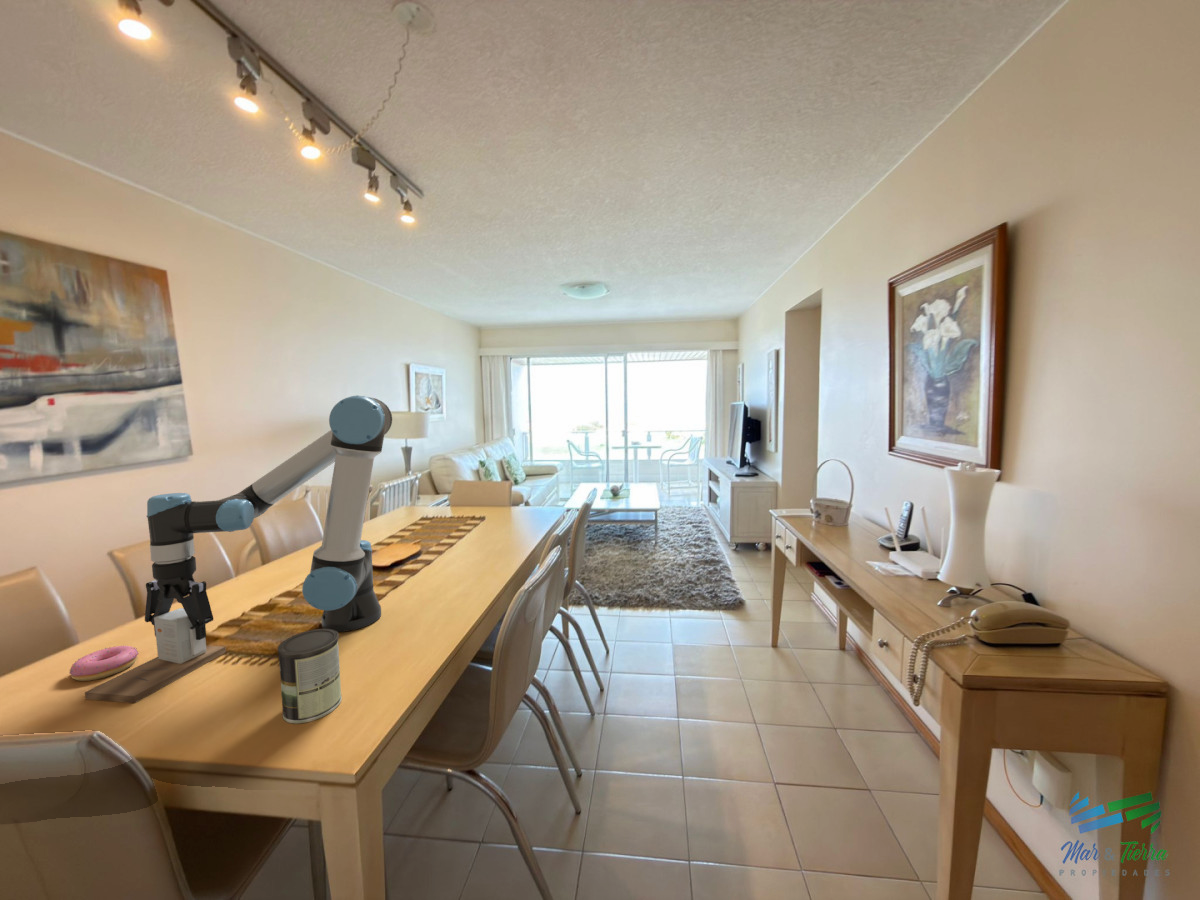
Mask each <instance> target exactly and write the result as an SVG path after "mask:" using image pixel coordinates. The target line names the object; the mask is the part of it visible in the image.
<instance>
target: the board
mask: <svg viewBox="0 0 1200 900" xmlns="http://www.w3.org/2000/svg"><path fill="white" fill-rule="evenodd" d="M206 651H207V652H205V653H203V654H201V655H199V656H197V657H195V658H192V659H190V660H188V661H186V662H184V663H182V664H179V663H174V662H170V661H165V660H161V659H158V656H156V657H154V658H152V659H150V660H148V661H145V662H144V663H141V664H139V665H138V666H136V667H134V668H132V669H129V670H127V671H125V672H123V673H121V674H120V675H117V676H115V677H113V678H111V679H109V680H107V681H104V682H103V683H101V684H99V685H96V686H95V687H92V688H91V689H88V690H86V691H85V692H84V698H85V700H92V701H94V700H95V701H106V702H118V703H128V704H135V703H137V702H139V701H141V700H143V699H145V698H147V697H148V696H151V694H153V693H156V692H157V691H159V690H161V689H163V688H165V687H166V686H168V685H170V684H172V683H174V682H175V681H177V680H179V679H181V678H183V677H184V676H186V675H188V674H189V673H191V672H193V671H195V670H197V669H198V668H200V667H202V666H204V665H206V664H208V663H209V662H211V661H213V660H214V659H216V658H218V657H220V656H223V655H224V654H225V653H227V648H226V646H222V645H221V646H219V645H207V644H206Z"/></svg>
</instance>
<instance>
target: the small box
mask: <svg viewBox="0 0 1200 900" xmlns="http://www.w3.org/2000/svg"><path fill="white" fill-rule="evenodd" d="M197 621H198V620H197ZM154 622H155V631H154V633H155V632H156V637H155V638H156V640H155V641H156V649H157V651H158V652H157V657H158V659H161V660H165V661H170V662H174V663H179V664H182V663H184V662H186V661H188V660H190V659H192V658H195V657H197V656H199V655H201V654H203V653H205V652H207V651H206V649H205V650H203V651H201V652H199V653H197V654H195V655H192V652H191V641H190V629H189V628H190V627H192V624H191V622H190V620H189V618H188V616H187V614H186V612H185V610H184V608H183V607H180V608H176V609H174V610H170V611H169V612H168V613H165V614H162V615H159V616H157V617H154ZM206 641H207V640H206V639H205V645H207V642H206Z"/></svg>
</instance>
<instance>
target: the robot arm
mask: <svg viewBox="0 0 1200 900" xmlns="http://www.w3.org/2000/svg"><path fill="white" fill-rule="evenodd" d="M328 422H329V427H330V430H329V431H328V432H326V433H324V434H323V435H321V436H320V437H319V438H317V439H315V440H314V441H313V442H311V443H310V444H308V445H306V447H304V448H302V449H301V450H299V451H298V452H296V453H295V454H294V455H292V456H291V457H290V458H287V459H286V460H285V461H284V462H282V463H281V464H279V465H277V466H276V467H274V468H272V470H270V471H268V472H267V473H266V474H264V475H263V476H261V477H260V478H258V479H257V480H255V481H254V482H253V483H251V484H250V485H248V486H247V487H245V488H244V489H242V490H241V491H239V492H238V493H236V494H233V495H230V496H228V497H224V498H221V499H219V500H218V499H217V500H206V501H204V500H202V501H195V500H194V501H192V497H191V494H189V493H187V492H172V493H164V494H162V493H161V494H157V495H153V496H151V497H149V498H148V499H147V503H146V505H147V506H146V507H147V508H146V510H147V511H146V513H147V515H146V518H147V523H148V532H149V533H148V534H149V542H150V544H149V548H150V549H149V550H150V561H151V562H153V563H152V564H151V568H152V569H151V570H152V571H151V572H152V578H153V579H154V580H151V581H149V582H146V583H145V588H146V599H145V600H146V602H145V603H146V604H145V613H144V622H145V623H151V625H152V626H153V629H154V630H153V631H154V636H155V638H156V632H155V622H154V617H157V616H159V615H162V614H165V613H168V612H171V608H172V606H173V605H172V604H173V603H174V599H175V600H176V602H177V603H179V604H181V605H182V608H184V610H185V612H186V614H187V616H188V618H189V620H190V622H191V624H192V627H190V628H189V629H190V641H191V652H192V655H195V654H197V653H199V652H201V651H203V650H205V649H206V645H207V644H206V645H205V640H206V638H207V630H206V628H207V627H206V626H207V625H206V624H209V623H211V622H212V621H214V615H213V611H212V608H211V604H210V600H209V597H208V593H207V582H206V581H201V582H199V581H198V582H197V581H195V579H194V577H193V575H194V574H195V572H196V571H197V560H196V557H195V556H194V555H195V554H196V552H195V541H194V540H195V539H194V537H195V536H194V534H203V533H220V532H229V533H230V532H231V533H232V532H235V531H244V530H247V529H249V528H250V527H252V526H251V525H252V524H253V523H254V519H255V518H258V517H260V516H262V515H263V514H265V512H267V511H268V510H269V508H271V507H273V506H274V505H275V504H276V503H278V502H279V501H281V500H282V499H284V498H285V497H287V496H288V495H290V494H291V493H292V492H293V491H295V490H297V489H299V488H300V487H301V486H303V485H304V484H305V483H306V482H308V481H310V480H311V479H312V478H314V477H316V476H317V475H318V474H319V473H322V471H324V470H325V469H327V468H328V467H330V466H332V464H333V463H334V466H333V472H332V478H331V479H332V480H331V484H330V490H329V498H328V503H327V509H326V514H325V515H326V516H325V523H324V529H323V535H322V541H321V545H320V546H319V547H317V548H316V549H315V550H314V551H313V554H312V558H311V559H312V560H311V566H310V572H309V574H307V575H306V577H305V578H304V580H303V582H302V583H303V584H302V589H301V591H302V596H303V599H304V600H305V601H306V602H307V603H308V604H309V605H310V606H311V608H315V609H317V610H319V611H323V612H322V616H321V629H332V630H335V631H337V632H338V633H340V632H341V633H343V632H348V631H354V630H358V629H361V628H365V627H367V626H369V625H372V624H373V623H376V622H377V621H378V620H379V619H380V618H381V617H382V607H381V604H380V602H379V600H378V597H377V595H376V592H375V590H374V576H373V575H374V574H373V572H374V571H373V570H374V569H373V555H372V554H373V549H372V545H371V544H372V543H371V542H370V541H369V540H366V539H364V540H363V539H362V534H363V530H364V529H363V528H364V522H365V516H366V515H365V514H366V509H367V504H368V503H367V502H368V497H369V490H370V486H371V478H372V473H373V472H372V471H373V468H374V467H373V466H374V460H375V458H376V456H378V455H379V454H381V453H382V450H383V446H384V439H385V436H386V434H387V433H388V432H389V430H390V429H391V428H392V424H393V415H392V412H391V409H390V408H389V406H388V405H387V404H386V403H385V402H383V401H382V400H380V399H378V398H376V397H375V398H374V397H369V396H365V395H351V396H348V397H345V398H343V399H341V400H339V401H338V402H337V403H335V405H334V406H333V408H332V409H331V411H330V413H329V418H328ZM197 620H198V621H197ZM157 653H158V651H157Z"/></svg>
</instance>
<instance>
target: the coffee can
mask: <svg viewBox="0 0 1200 900" xmlns="http://www.w3.org/2000/svg"><path fill="white" fill-rule="evenodd" d="M339 637H340V636H339V632H337V631H335V630H332V629H323V628H317V629H311V630H307V631H306V630H305V631H303V632H299V633H297V634H294V635H292V636H289V637H288V638H286V639H285V640H283V641H282V642H281V643H280V644H279V645H278V646H277V654H278V660H279V661H278V662H279V663H278V664H279V677H280V688H281V690H280V691H281V703H282V719H283V720H284V721H285V722H286V723H288V724H297V725H298V724H305V723H310V722H314V721H317V720H319V719H321V718H324V717H325V716H327V715H328V714H331V713H332V712H333V711H335V710H336V708H338V707H339V706H340V704H341V702H342V699H343V698H342V688H341V670H340V669H341V667H340V651H339V650H340V649H339V639H340V638H339Z"/></svg>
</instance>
